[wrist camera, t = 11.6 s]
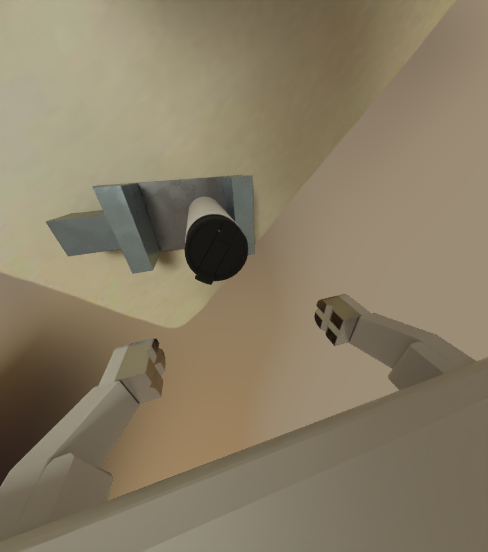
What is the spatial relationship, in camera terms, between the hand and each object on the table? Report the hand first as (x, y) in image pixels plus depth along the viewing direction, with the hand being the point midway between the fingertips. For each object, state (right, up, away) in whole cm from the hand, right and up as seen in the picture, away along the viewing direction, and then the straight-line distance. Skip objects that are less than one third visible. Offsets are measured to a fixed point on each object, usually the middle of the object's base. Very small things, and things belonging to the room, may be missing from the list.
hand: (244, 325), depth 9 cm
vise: (-12, +14, +25) cm, 31 cm away
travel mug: (-7, +14, +24) cm, 29 cm away
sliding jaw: (-22, +11, +21) cm, 33 cm away
